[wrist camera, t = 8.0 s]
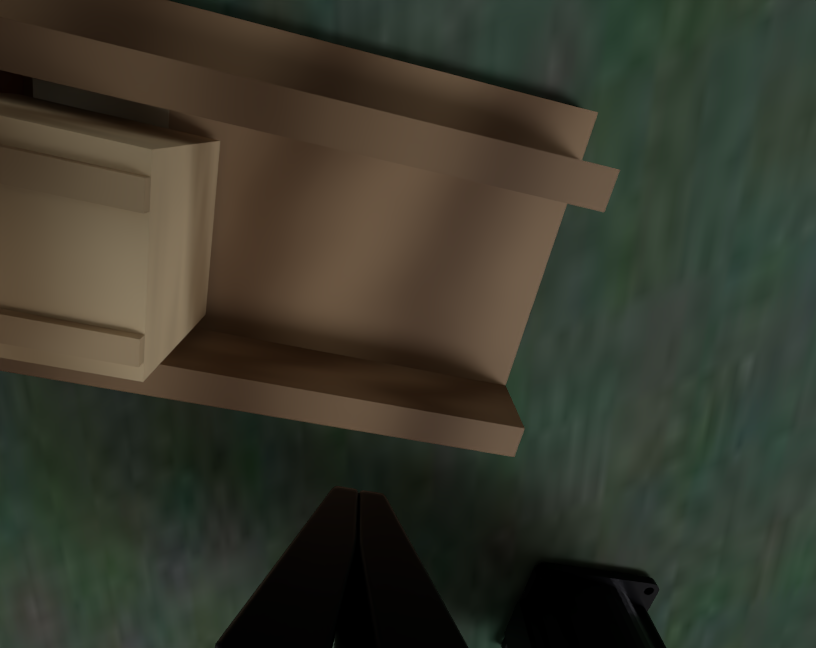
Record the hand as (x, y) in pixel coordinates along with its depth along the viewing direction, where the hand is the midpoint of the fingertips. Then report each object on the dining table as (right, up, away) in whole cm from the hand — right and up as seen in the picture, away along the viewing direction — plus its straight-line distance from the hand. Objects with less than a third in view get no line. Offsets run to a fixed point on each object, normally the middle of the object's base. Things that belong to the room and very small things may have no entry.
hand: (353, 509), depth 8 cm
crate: (-9, +7, +8) cm, 14 cm away
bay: (-4, +6, +10) cm, 12 cm away
